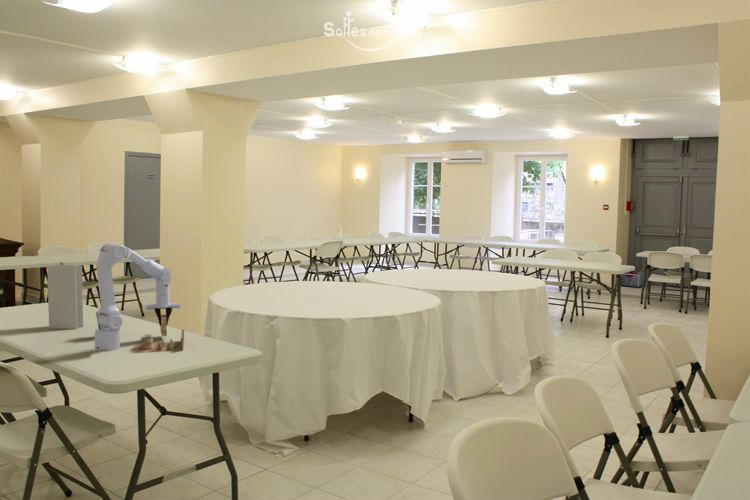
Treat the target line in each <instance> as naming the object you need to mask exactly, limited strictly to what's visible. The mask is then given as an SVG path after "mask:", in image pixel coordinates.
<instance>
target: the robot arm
mask: <svg viewBox="0 0 750 500" xmlns="http://www.w3.org/2000/svg"><path fill="white" fill-rule="evenodd" d="M123 259H128V260H130V261H131V262H133V263H134V264H137V265H138V266H140V269H141V270H142V271H143V272H145V273H146V274H148V275H150V276H152V278H153V279H154V280H155V293H156V294H155V297H156V299H155V300H156V302H155V304H145V311H149V310H151V311H152V310H153V311H154V313H155V314H156V317H157V320H158V325H159V326H160V327H161V314H162V313H161V312H162V310H165V315H166V318H167V326H168V325H169V324H168V323H169V319H170V316H171V315H172V312H173V309H181V303H171V301H170V300H171V298H170V297H171V295H170V294H171V290H170V284H171V279H172V278H173V273H172V271H171V270H170V268H166V267H164V266H163V265H162V264H159V263H157V262H156V260H155V259H154V258H144V257H143V256H141V255H139V254H138V253H137V252H135V251H134V250H133V249H131V248H129V247H128V246H125V245H124V244H117V243H116V244H114V243H109V242H108V243H105V244H104V245H103V246H102V247H101V248H100V249H99V255H98V257H97V261H96V265H95V267H96V274H97V282H98V283H97V284H98V289H99V292H98V293H99V298H100V299H99V300H100V307H99V309H98V318H97V317H96V322H97V325H98V324H99V325H100V330H99V329H95V331H94V351H114V350H118V349H120V348H121V346H120V345H121V344H120V343H121V341H120V339H121V338H120V329H121V327H122V326H123V317H122V315H121V313H120V310H119V308H118V306H117V305H116V298H115V297H116V296H115V289H114V281H113V273H112V268H113V267H114V266H115V265H116V264H118V263H119V262H121V261H122V260H123Z"/></svg>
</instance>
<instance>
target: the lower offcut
mask: <svg viewBox="0 0 750 500" xmlns="http://www.w3.org/2000/svg"><path fill="white" fill-rule="evenodd" d="M153 342H154V339H153V340H152V343H141V342H140V343H141V350H142V349H152V346H153Z"/></svg>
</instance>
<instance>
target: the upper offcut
mask: <svg viewBox="0 0 750 500" xmlns="http://www.w3.org/2000/svg"><path fill="white" fill-rule="evenodd" d="M153 338H154V336H153V334H150V333H149V334H146V333H145V334H142V335H141V338H140V341H141V342H140V343H152V340H153V341H154V339H153Z"/></svg>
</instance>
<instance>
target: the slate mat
mask: <svg viewBox="0 0 750 500" xmlns="http://www.w3.org/2000/svg"><path fill="white" fill-rule="evenodd" d="M162 337H163V338H166V337H169V335H167V336H162V335H158V336H153V338H162ZM176 337H179V334H177V335H176Z"/></svg>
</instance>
